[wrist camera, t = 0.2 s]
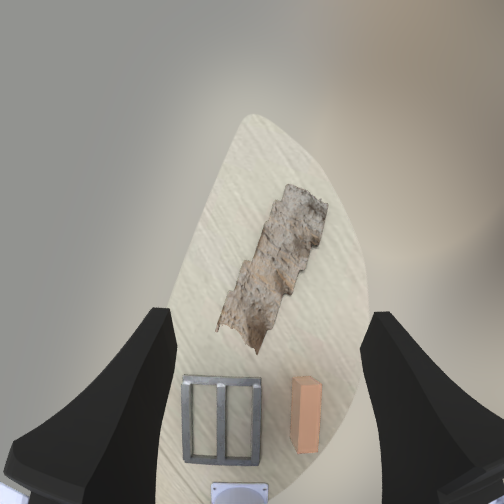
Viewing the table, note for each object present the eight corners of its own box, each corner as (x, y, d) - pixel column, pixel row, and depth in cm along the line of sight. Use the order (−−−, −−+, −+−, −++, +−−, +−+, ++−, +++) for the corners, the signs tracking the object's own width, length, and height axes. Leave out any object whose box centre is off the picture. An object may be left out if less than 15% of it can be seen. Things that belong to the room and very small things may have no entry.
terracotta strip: (307, 436, 38) (317, 452, 32) (289, 437, 38) (297, 453, 32) (310, 376, 40) (322, 384, 34) (292, 376, 40) (300, 385, 34)
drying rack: (258, 462, 37) (259, 469, 34) (185, 459, 36) (183, 466, 34) (260, 377, 39) (261, 380, 37) (184, 374, 39) (181, 377, 37)
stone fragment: (328, 199, 46) (264, 179, 46) (333, 191, 43) (266, 170, 44) (281, 369, 40) (209, 348, 41) (284, 372, 38) (207, 349, 38)
